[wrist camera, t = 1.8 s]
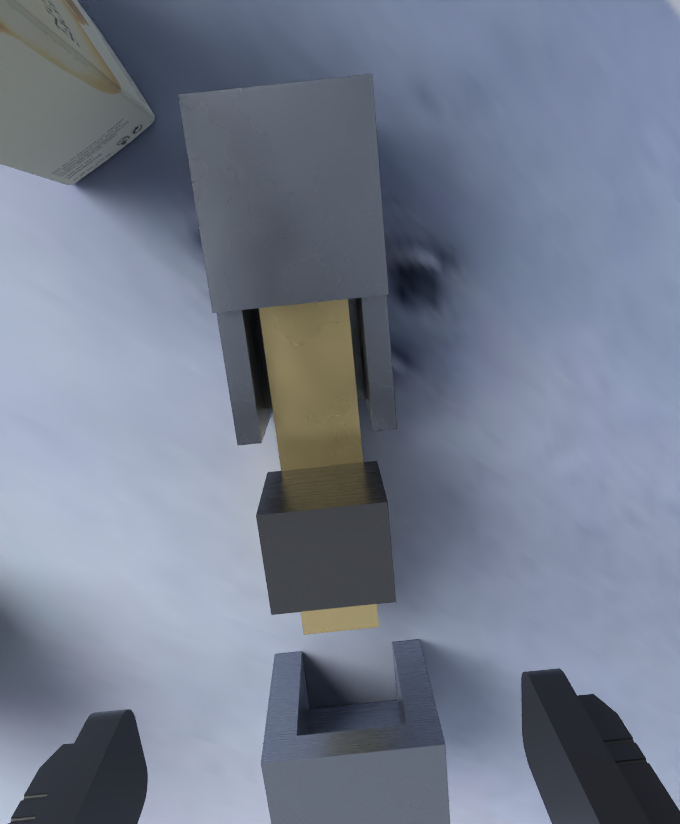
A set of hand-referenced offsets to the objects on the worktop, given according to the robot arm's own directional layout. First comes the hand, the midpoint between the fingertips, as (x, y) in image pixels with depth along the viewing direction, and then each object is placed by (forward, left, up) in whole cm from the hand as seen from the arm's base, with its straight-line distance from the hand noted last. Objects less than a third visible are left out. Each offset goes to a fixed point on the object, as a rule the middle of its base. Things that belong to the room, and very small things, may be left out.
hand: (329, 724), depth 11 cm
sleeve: (-9, 0, -14) cm, 16 cm away
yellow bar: (-4, 0, -14) cm, 14 cm away
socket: (+11, 0, -14) cm, 17 cm away
